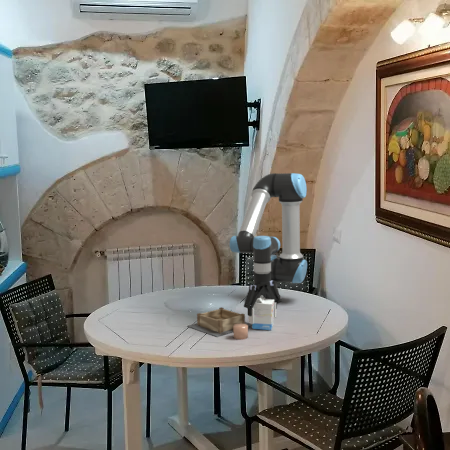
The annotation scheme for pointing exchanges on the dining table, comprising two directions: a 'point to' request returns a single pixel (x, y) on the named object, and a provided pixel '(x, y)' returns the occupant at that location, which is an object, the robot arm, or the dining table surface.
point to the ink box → (263, 314)
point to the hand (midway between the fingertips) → (262, 319)
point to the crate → (218, 322)
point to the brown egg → (240, 331)
